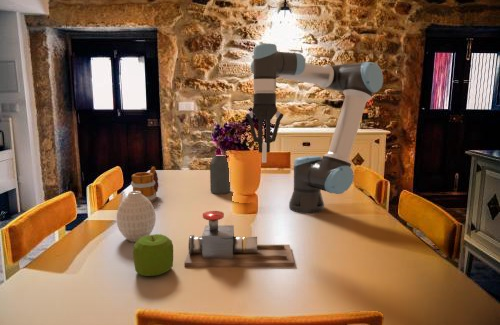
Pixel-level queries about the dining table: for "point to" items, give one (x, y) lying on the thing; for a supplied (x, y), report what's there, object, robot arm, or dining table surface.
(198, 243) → the gate valve
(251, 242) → the pipe
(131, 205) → the vase
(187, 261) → the board
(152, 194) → the mug
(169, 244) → the apple
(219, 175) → the bottle
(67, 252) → the dining table surface
